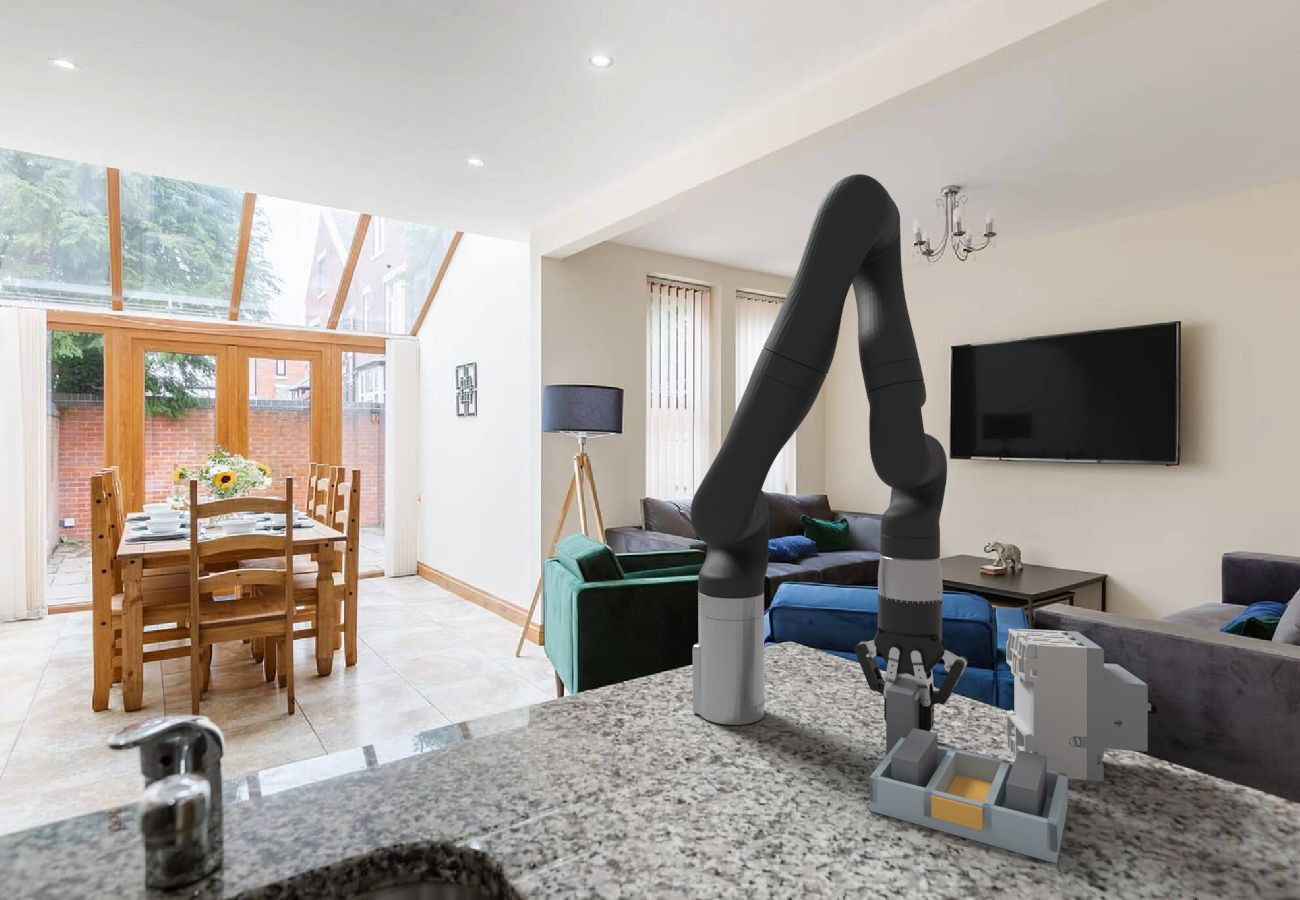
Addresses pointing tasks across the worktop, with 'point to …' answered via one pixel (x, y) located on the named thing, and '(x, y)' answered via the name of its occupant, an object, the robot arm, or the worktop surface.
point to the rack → (973, 795)
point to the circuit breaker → (1072, 702)
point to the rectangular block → (901, 710)
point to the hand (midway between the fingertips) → (909, 729)
